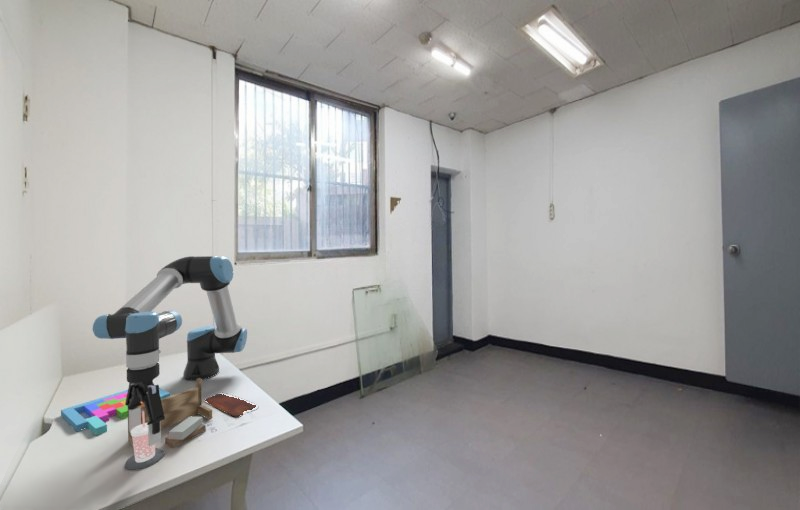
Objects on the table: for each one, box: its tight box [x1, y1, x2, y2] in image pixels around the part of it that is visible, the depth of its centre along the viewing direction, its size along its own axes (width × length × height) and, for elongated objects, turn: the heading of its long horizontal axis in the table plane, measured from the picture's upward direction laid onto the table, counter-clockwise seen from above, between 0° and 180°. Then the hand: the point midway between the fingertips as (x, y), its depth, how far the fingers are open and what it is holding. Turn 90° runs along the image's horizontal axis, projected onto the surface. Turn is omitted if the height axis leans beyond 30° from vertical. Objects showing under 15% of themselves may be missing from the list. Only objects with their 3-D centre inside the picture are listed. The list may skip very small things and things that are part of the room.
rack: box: [127, 378, 213, 446], centre depth 109 cm, size 22×9×13 cm, turn 149°
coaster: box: [124, 447, 165, 471], centre depth 93 cm, size 9×9×1 cm
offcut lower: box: [164, 423, 207, 448], centre depth 104 cm, size 10×5×2 cm, turn 155°
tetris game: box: [60, 387, 171, 436], centre depth 122 cm, size 28×3×28 cm
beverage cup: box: [130, 411, 156, 463], centre depth 93 cm, size 6×6×14 cm
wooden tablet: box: [204, 393, 257, 418], centre depth 127 cm, size 27×10×2 cm, turn 57°
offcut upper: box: [168, 416, 203, 440], centre depth 104 cm, size 9×5×2 cm, turn 176°
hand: (144, 436), depth 93 cm, fingers open, 13 cm apart
